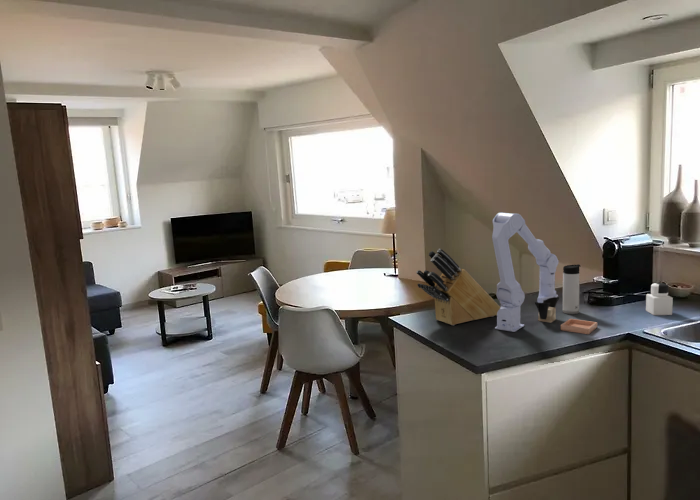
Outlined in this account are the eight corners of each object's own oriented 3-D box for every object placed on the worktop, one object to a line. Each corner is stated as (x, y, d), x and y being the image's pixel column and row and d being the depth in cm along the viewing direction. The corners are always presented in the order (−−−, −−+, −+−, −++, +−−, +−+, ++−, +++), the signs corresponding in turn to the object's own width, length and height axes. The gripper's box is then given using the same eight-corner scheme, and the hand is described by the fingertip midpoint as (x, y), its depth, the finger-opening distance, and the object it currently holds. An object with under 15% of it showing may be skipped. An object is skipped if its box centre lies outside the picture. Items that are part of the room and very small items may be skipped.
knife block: (415, 324, 219) (413, 248, 215) (483, 310, 235) (482, 239, 230) (432, 330, 209) (430, 251, 205) (502, 315, 225) (501, 241, 220)
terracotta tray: (588, 334, 196) (588, 329, 196) (560, 330, 203) (560, 324, 202) (597, 327, 204) (597, 322, 203) (570, 323, 210) (570, 318, 210)
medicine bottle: (663, 310, 221) (665, 281, 220) (672, 315, 214) (673, 285, 213) (645, 310, 222) (646, 282, 220) (653, 315, 215) (654, 285, 213)
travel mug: (581, 314, 222) (582, 266, 219) (564, 314, 223) (564, 266, 220) (578, 310, 228) (578, 263, 225) (561, 310, 229) (561, 263, 226)
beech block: (550, 322, 212) (550, 310, 212) (538, 321, 216) (538, 308, 215) (555, 319, 216) (555, 307, 215) (543, 318, 219) (543, 306, 219)
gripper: (550, 287, 206) (550, 322, 208) (564, 280, 216) (563, 313, 218) (532, 285, 210) (532, 319, 212) (546, 279, 221) (546, 311, 223)
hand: (546, 316), depth 216 cm, fingers open, 7 cm apart
